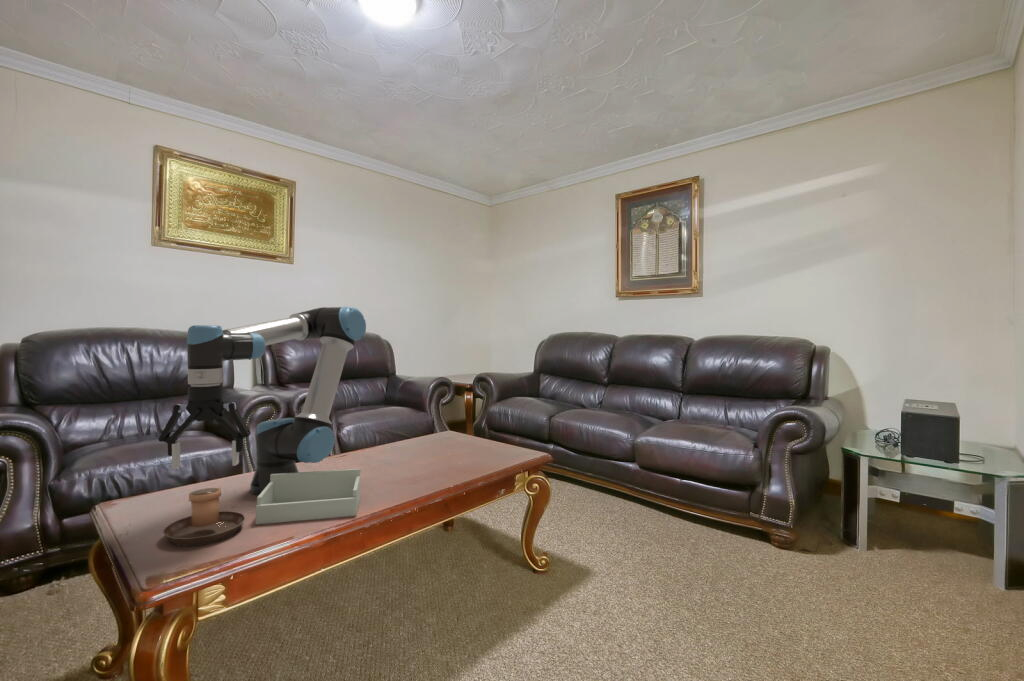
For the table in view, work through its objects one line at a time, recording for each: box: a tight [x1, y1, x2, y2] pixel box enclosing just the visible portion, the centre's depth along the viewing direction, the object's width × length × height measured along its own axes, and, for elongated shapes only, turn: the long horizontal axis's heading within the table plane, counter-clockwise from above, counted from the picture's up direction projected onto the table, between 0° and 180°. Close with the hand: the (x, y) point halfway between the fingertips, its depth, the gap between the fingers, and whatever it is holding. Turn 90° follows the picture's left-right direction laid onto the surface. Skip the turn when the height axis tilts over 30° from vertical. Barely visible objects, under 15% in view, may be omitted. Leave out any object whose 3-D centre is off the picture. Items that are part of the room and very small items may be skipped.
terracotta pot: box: [188, 487, 222, 527], centre depth 119 cm, size 7×7×8 cm
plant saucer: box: [162, 510, 246, 547], centre depth 119 cm, size 18×18×3 cm
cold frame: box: [255, 468, 361, 525], centre depth 135 cm, size 16×26×9 cm, turn 105°
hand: (206, 466), depth 119 cm, fingers open, 13 cm apart
